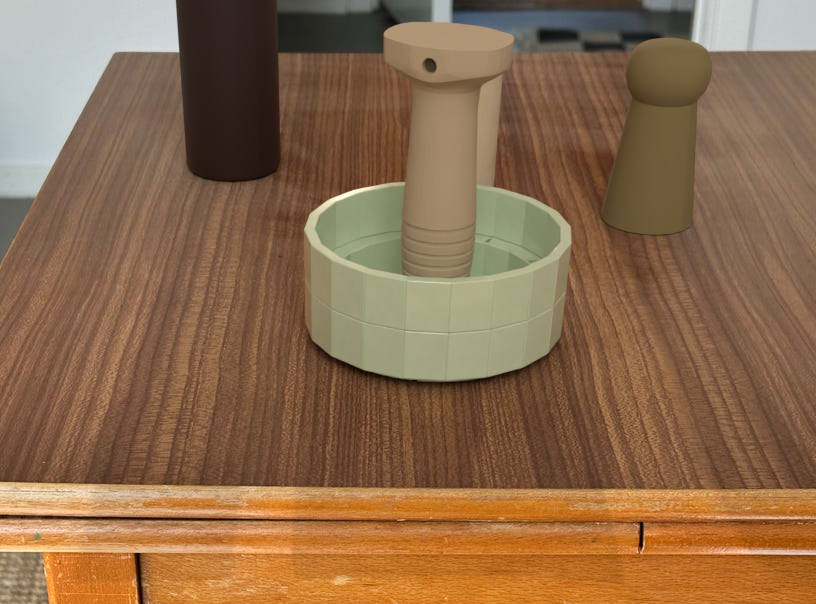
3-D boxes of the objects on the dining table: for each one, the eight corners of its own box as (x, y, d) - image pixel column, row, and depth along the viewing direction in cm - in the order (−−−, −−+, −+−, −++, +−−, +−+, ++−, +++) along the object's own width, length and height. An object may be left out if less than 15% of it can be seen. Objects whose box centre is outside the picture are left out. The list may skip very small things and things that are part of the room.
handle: (397, 294, 77) (407, 17, 68) (502, 315, 75) (527, 31, 65) (363, 327, 73) (368, 40, 64) (471, 349, 71) (493, 56, 62)
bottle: (177, 156, 97) (154, -160, 85) (266, 146, 99) (257, -164, 86) (199, 187, 92) (178, -143, 79) (292, 177, 94) (286, -148, 81)
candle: (415, 212, 88) (422, 54, 82) (409, 183, 93) (415, 31, 87) (497, 211, 89) (510, 54, 82) (487, 182, 93) (499, 30, 87)
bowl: (558, 286, 79) (569, 186, 76) (560, 399, 68) (573, 289, 65) (323, 273, 81) (323, 175, 77) (288, 382, 70) (286, 273, 66)
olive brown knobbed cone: (583, 207, 89) (605, 33, 82) (660, 196, 91) (688, 25, 84) (630, 240, 85) (657, 59, 78) (710, 227, 87) (743, 49, 80)
